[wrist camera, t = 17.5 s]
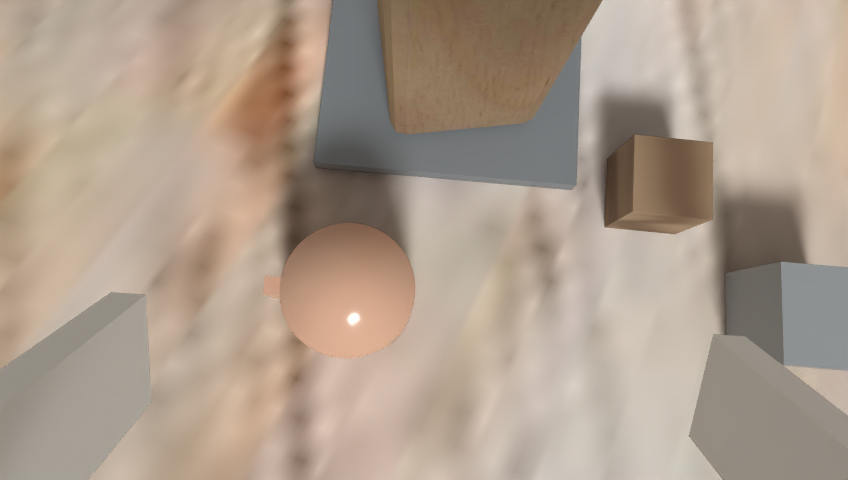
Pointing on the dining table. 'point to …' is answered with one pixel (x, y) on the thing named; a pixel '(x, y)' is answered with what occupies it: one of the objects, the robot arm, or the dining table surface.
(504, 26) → the wooden block
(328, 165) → the slate grey board
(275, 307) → the dining table surface
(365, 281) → the peach rounded cylinder
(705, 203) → the walnut cube
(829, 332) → the blue grey box
